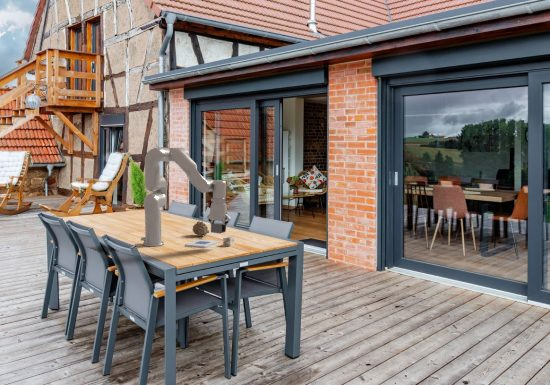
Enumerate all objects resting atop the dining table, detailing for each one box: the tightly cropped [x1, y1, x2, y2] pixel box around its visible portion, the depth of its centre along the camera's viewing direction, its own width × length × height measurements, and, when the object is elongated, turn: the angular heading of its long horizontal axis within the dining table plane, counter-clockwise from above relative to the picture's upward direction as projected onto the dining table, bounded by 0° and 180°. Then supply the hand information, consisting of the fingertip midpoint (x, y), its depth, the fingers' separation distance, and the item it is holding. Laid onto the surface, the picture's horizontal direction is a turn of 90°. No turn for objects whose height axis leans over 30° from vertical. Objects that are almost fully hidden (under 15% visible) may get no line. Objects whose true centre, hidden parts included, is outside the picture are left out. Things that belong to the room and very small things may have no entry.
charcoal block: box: [210, 222, 227, 234], centre depth 288 cm, size 6×6×5 cm
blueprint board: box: [184, 239, 220, 249], centre depth 300 cm, size 14×18×1 cm
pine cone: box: [191, 221, 210, 238], centre depth 326 cm, size 22×10×10 cm, turn 37°
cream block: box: [222, 236, 235, 247], centre depth 298 cm, size 5×5×5 cm
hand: (218, 230), depth 288 cm, fingers closed on charcoal block, 6 cm apart
